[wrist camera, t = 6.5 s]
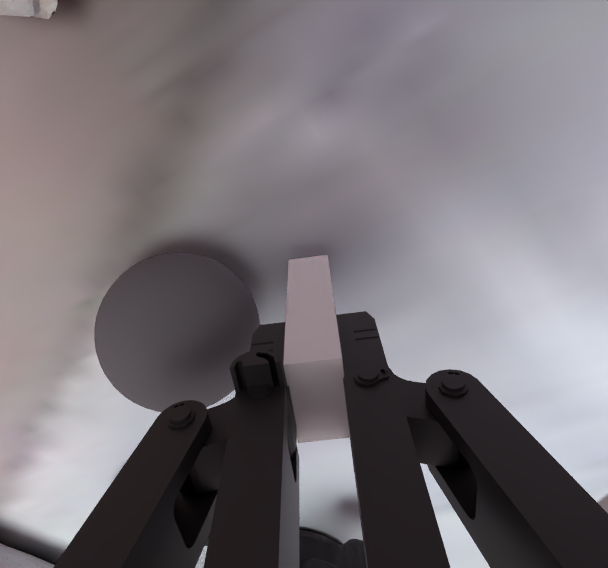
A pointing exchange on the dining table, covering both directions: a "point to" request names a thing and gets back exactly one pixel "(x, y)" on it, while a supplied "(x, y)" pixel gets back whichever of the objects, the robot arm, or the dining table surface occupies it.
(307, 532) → the milk frother
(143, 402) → the dark gray ball
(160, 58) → the dining table surface
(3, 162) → the dining table surface
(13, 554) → the ceramic mug
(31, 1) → the egg carton
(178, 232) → the dining table surface
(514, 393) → the dining table surface
